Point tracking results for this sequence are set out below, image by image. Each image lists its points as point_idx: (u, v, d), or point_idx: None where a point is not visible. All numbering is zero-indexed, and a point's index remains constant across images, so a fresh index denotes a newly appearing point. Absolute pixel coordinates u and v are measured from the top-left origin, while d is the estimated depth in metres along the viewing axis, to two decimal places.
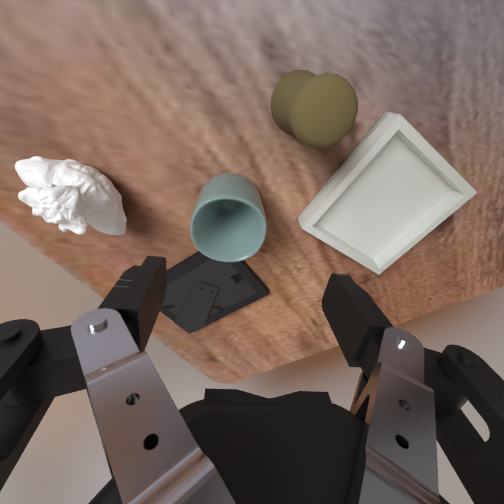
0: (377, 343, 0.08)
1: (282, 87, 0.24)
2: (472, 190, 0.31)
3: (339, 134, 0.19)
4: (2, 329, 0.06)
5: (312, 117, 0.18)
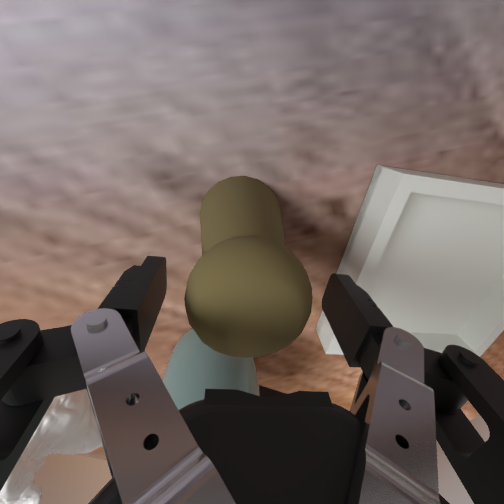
0: (377, 343, 0.08)
1: None
2: None
3: (291, 335, 0.09)
4: (2, 329, 0.06)
5: (222, 339, 0.09)
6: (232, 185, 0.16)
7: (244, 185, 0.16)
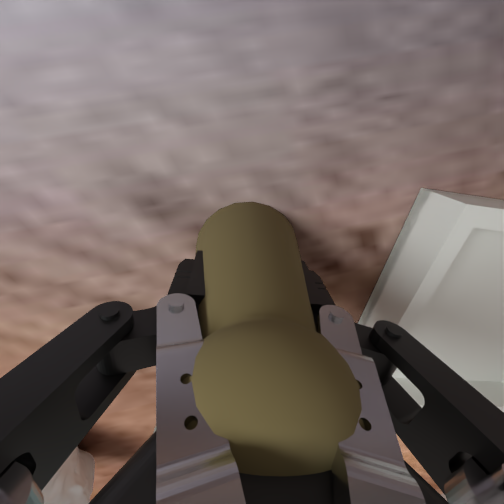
0: (315, 319, 0.09)
1: None
2: None
3: None
4: (107, 307, 0.07)
5: None
6: (237, 216, 0.12)
7: (253, 216, 0.12)
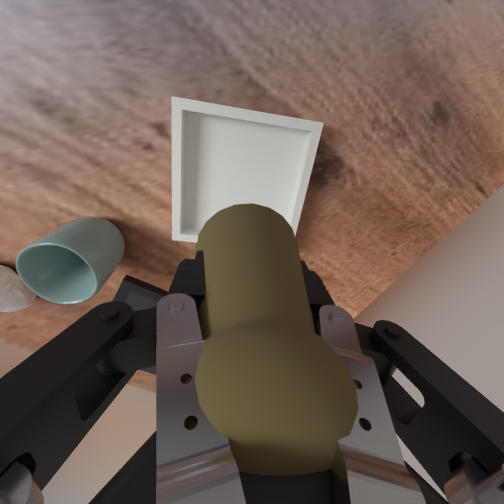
0: (315, 319, 0.09)
1: None
2: (315, 123, 0.26)
3: None
4: (107, 307, 0.07)
5: None
6: (237, 217, 0.12)
7: (252, 218, 0.12)
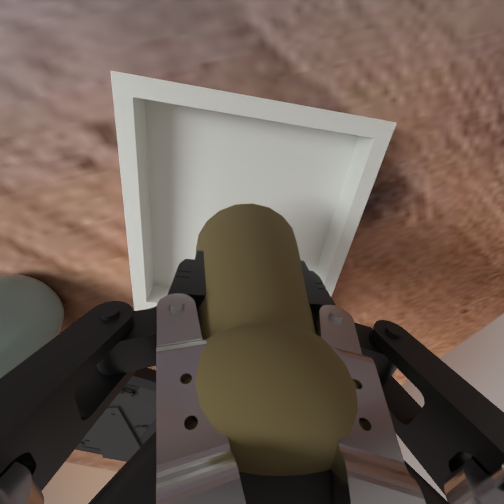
0: (315, 319, 0.09)
1: None
2: (382, 123, 0.14)
3: None
4: (107, 307, 0.07)
5: None
6: (237, 217, 0.12)
7: (252, 218, 0.12)
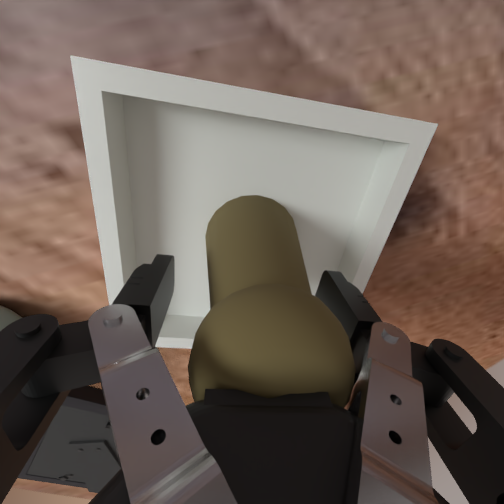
0: (365, 337, 0.09)
1: (207, 250, 0.14)
2: (420, 125, 0.11)
3: None
4: (24, 322, 0.06)
5: None
6: (244, 207, 0.14)
7: (258, 207, 0.13)
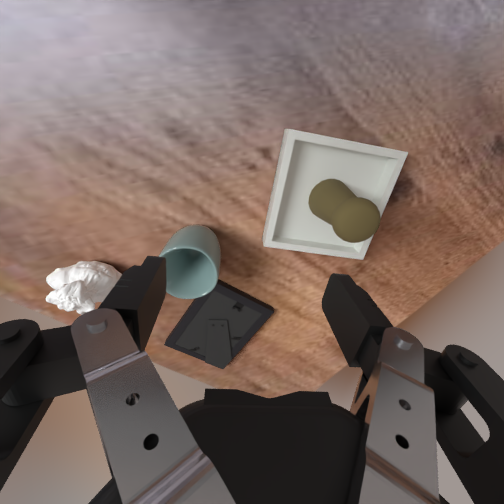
0: (377, 343, 0.08)
1: (315, 200, 0.34)
2: (401, 152, 0.32)
3: (373, 231, 0.27)
4: (2, 329, 0.06)
5: (351, 230, 0.27)
6: (331, 182, 0.34)
7: (337, 182, 0.33)
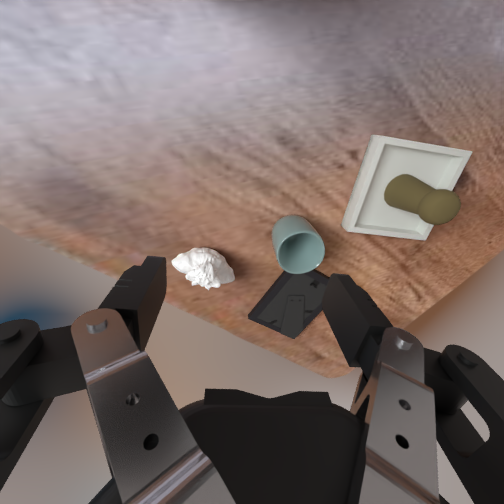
0: (377, 343, 0.08)
1: (394, 191, 0.42)
2: (467, 151, 0.39)
3: (454, 215, 0.35)
4: (2, 329, 0.06)
5: (438, 214, 0.35)
6: (407, 177, 0.41)
7: (412, 177, 0.41)
